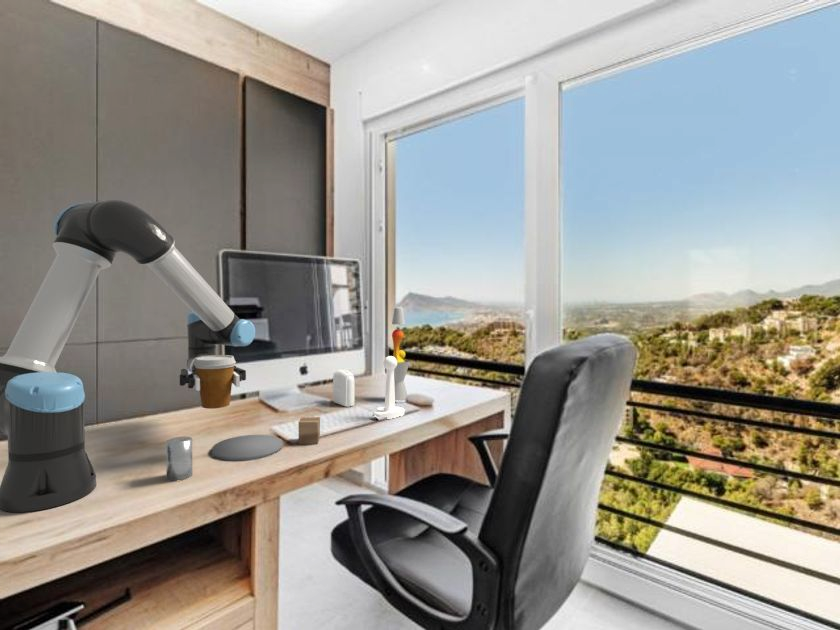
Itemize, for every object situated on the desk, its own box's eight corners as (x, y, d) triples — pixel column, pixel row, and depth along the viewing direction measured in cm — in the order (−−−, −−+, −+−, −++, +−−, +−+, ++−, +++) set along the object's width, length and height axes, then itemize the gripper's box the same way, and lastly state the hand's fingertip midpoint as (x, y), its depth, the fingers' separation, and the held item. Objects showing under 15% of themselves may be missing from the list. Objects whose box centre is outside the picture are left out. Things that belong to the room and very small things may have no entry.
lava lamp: (398, 404, 167) (399, 308, 165) (380, 400, 172) (381, 307, 171) (414, 400, 174) (415, 307, 172) (396, 396, 179) (397, 306, 178)
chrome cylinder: (180, 482, 97) (180, 444, 97) (161, 479, 98) (160, 442, 98) (197, 473, 102) (197, 437, 102) (178, 471, 103) (178, 435, 103)
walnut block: (317, 444, 123) (317, 421, 122) (298, 444, 122) (298, 422, 122) (320, 438, 128) (320, 416, 127) (301, 438, 127) (301, 417, 127)
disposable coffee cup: (220, 399, 121) (219, 353, 120) (244, 404, 116) (244, 356, 115) (186, 407, 113) (185, 358, 112) (210, 412, 108) (210, 361, 107)
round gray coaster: (258, 464, 108) (258, 459, 108) (196, 456, 112) (196, 452, 112) (295, 441, 124) (295, 437, 124) (240, 435, 129) (240, 432, 129)
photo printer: (331, 402, 169) (331, 368, 169) (341, 400, 172) (341, 367, 171) (345, 408, 161) (345, 372, 161) (356, 406, 164) (356, 371, 163)
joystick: (381, 421, 145) (381, 358, 144) (366, 417, 150) (366, 355, 149) (406, 415, 152) (407, 355, 151) (391, 411, 158) (392, 353, 157)
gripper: (245, 378, 135) (263, 393, 116) (164, 385, 124) (169, 403, 105) (245, 353, 135) (263, 364, 115) (163, 357, 124) (168, 371, 104)
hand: (218, 383), depth 110 cm, fingers closed on disposable coffee cup, 8 cm apart
